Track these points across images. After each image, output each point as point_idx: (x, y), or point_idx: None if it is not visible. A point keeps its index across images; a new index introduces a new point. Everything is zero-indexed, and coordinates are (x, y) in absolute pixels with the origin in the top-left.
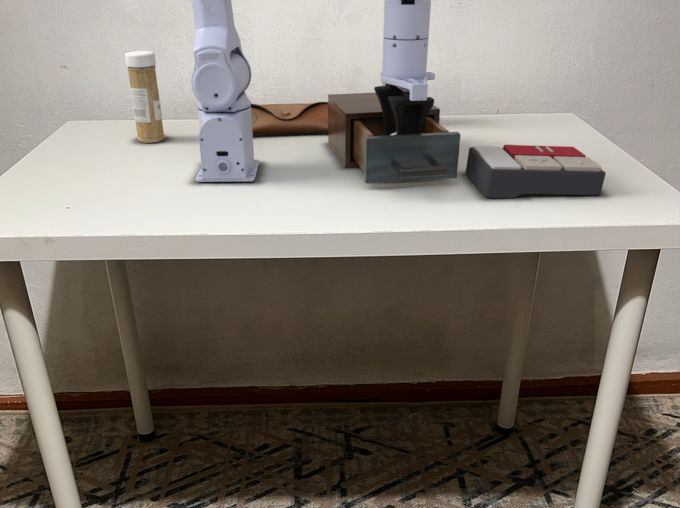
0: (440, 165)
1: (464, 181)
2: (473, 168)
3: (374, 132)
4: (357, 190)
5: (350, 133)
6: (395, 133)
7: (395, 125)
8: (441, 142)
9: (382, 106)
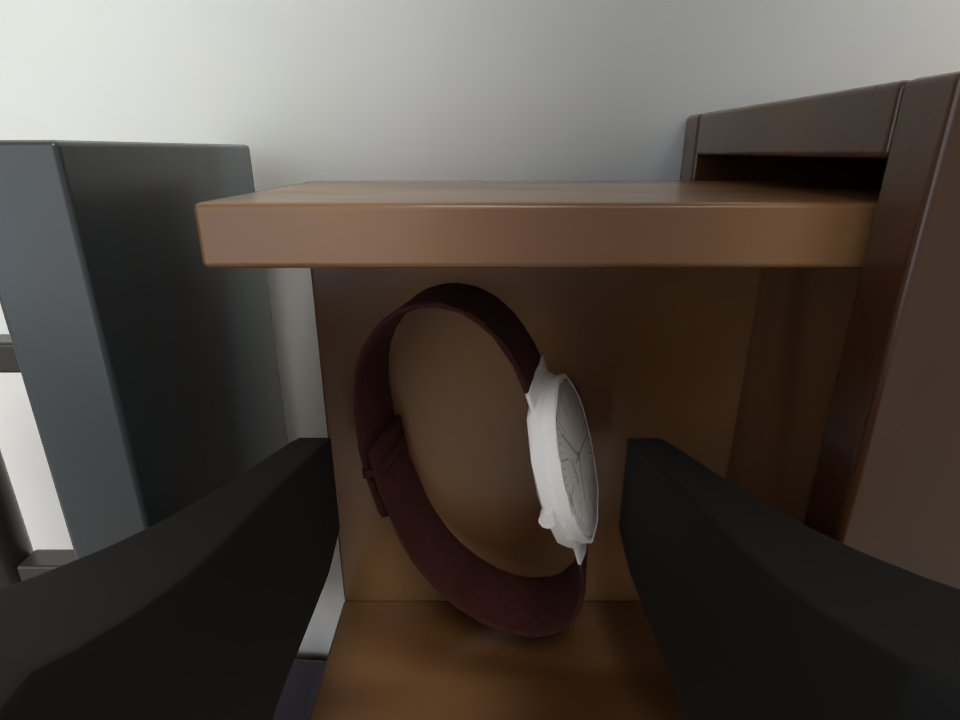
0: None
1: (328, 631)
2: (289, 708)
3: (815, 384)
4: (222, 96)
5: (792, 151)
6: (558, 505)
7: (659, 551)
8: None
9: (778, 565)
